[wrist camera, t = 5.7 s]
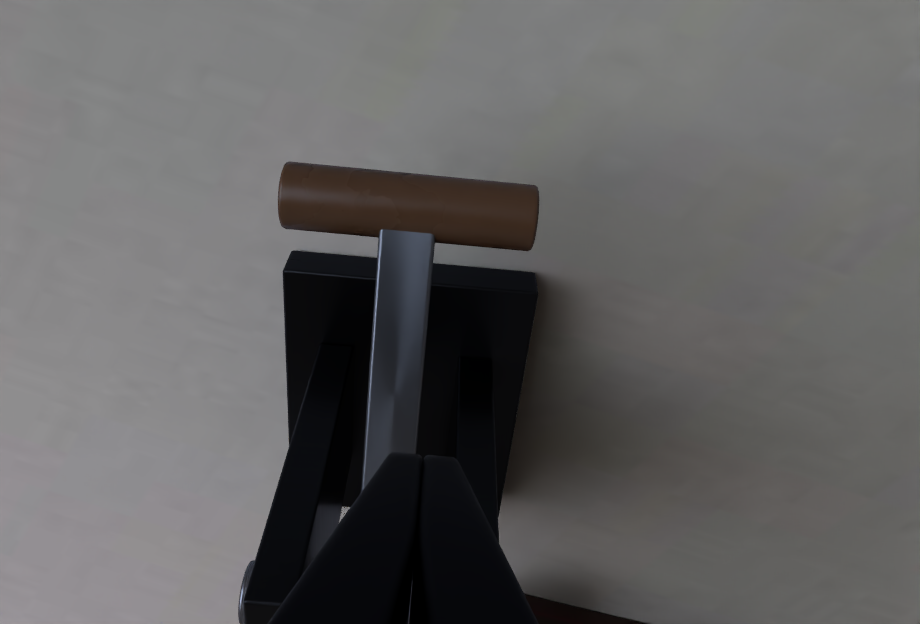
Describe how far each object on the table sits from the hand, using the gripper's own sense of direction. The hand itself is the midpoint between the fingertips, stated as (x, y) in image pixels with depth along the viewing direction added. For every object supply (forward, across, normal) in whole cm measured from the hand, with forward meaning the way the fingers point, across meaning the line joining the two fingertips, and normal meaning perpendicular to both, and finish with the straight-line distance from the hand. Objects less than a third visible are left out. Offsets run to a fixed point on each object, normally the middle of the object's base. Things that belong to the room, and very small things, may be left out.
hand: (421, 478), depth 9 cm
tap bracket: (+12, +1, +8) cm, 14 cm away
